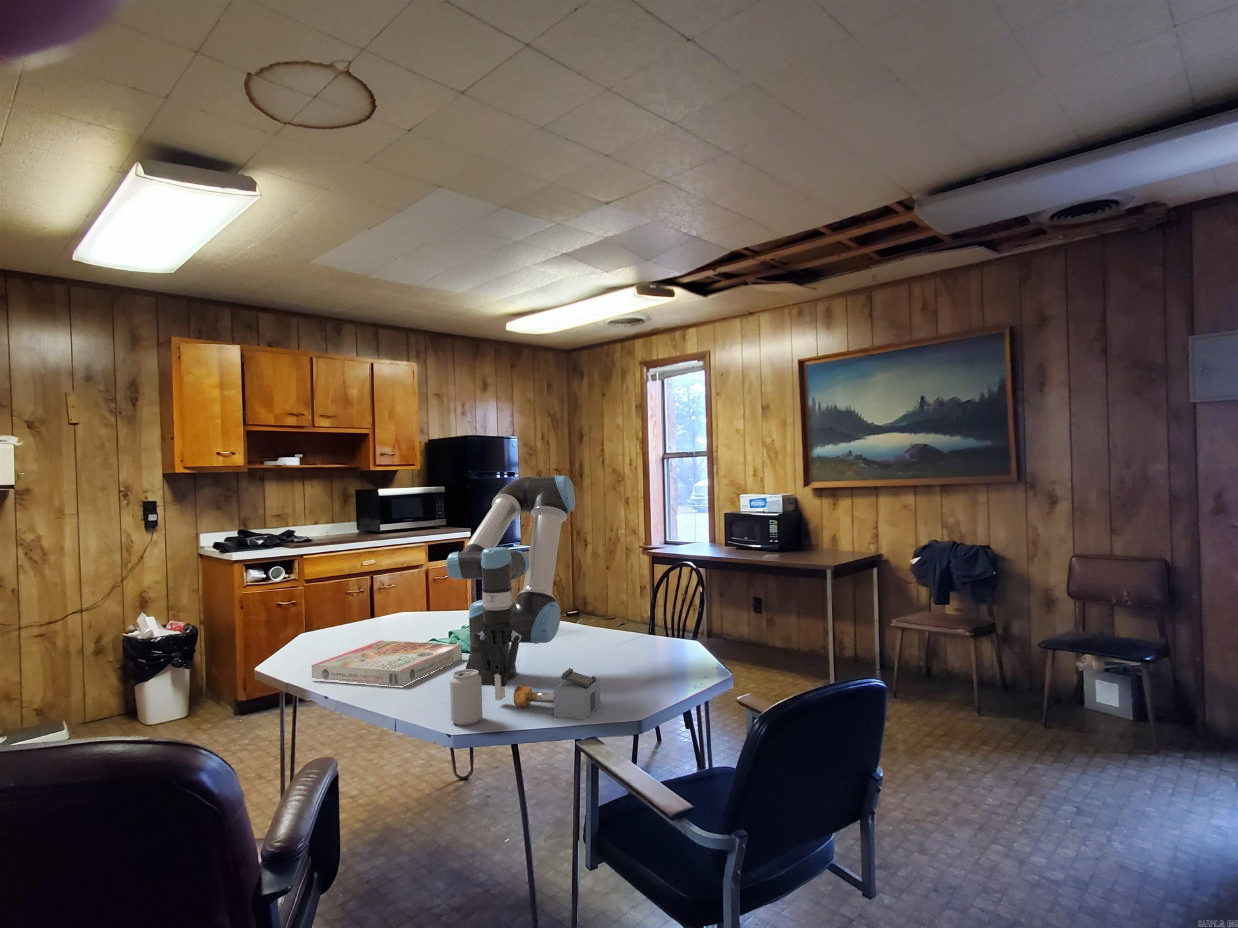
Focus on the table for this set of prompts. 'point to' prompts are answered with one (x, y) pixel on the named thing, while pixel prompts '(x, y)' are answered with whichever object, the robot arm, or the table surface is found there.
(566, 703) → the bracket
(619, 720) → the table surface
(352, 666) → the pizza box
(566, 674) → the plate
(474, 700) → the can
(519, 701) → the pin
